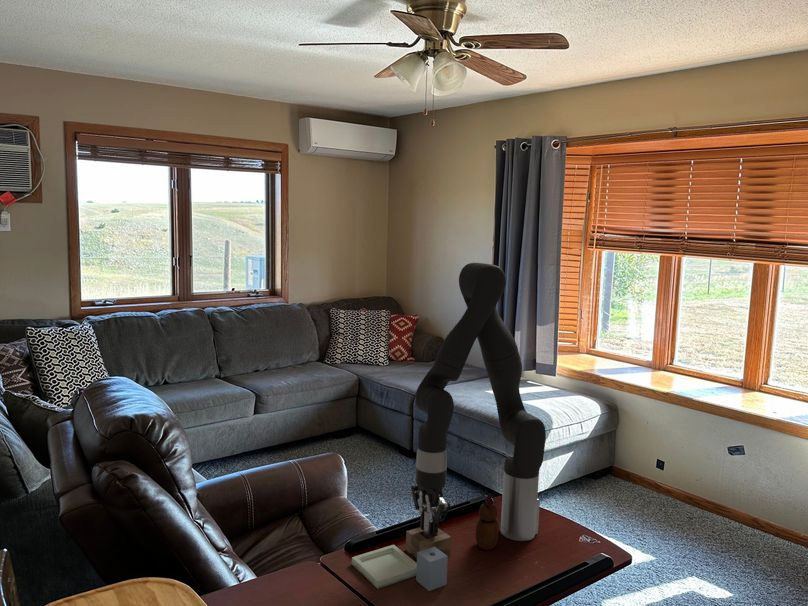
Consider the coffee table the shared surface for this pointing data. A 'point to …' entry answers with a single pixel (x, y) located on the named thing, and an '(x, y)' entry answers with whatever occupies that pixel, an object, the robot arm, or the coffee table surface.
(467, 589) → the coffee table surface
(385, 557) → the tray
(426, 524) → the pin
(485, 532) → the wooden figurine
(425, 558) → the slate block
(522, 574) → the coffee table surface
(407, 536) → the wooden socket block
